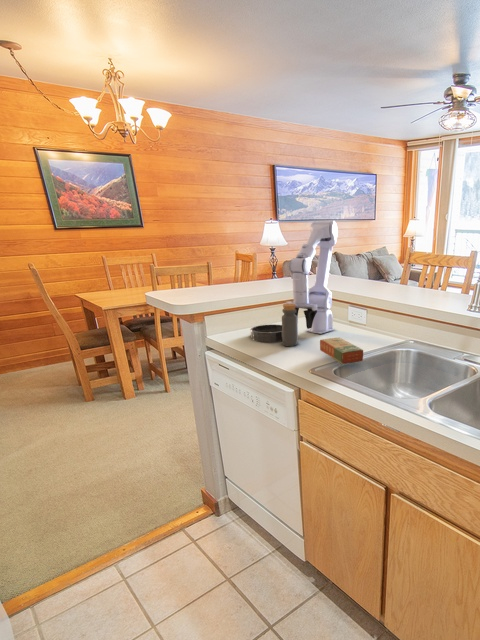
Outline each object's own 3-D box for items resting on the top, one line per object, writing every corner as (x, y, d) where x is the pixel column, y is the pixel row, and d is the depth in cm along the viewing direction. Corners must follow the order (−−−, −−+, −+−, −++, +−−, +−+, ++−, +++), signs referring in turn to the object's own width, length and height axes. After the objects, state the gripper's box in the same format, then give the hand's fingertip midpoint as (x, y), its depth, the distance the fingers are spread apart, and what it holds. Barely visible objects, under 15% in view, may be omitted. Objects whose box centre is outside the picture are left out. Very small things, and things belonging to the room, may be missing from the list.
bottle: (299, 342, 160) (298, 303, 153) (296, 346, 154) (295, 306, 148) (284, 341, 160) (283, 302, 154) (280, 345, 155) (279, 305, 148)
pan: (271, 332, 176) (270, 322, 174) (297, 337, 167) (296, 327, 166) (243, 339, 165) (242, 329, 163) (269, 344, 156) (269, 334, 155)
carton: (339, 347, 149) (340, 336, 148) (363, 361, 137) (364, 349, 135) (319, 350, 145) (319, 339, 144) (342, 364, 133) (342, 352, 131)
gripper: (279, 290, 156) (281, 326, 161) (307, 294, 148) (309, 331, 153) (292, 289, 161) (294, 323, 167) (320, 292, 153) (321, 328, 158)
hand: (302, 327), depth 160 cm, fingers open, 7 cm apart
